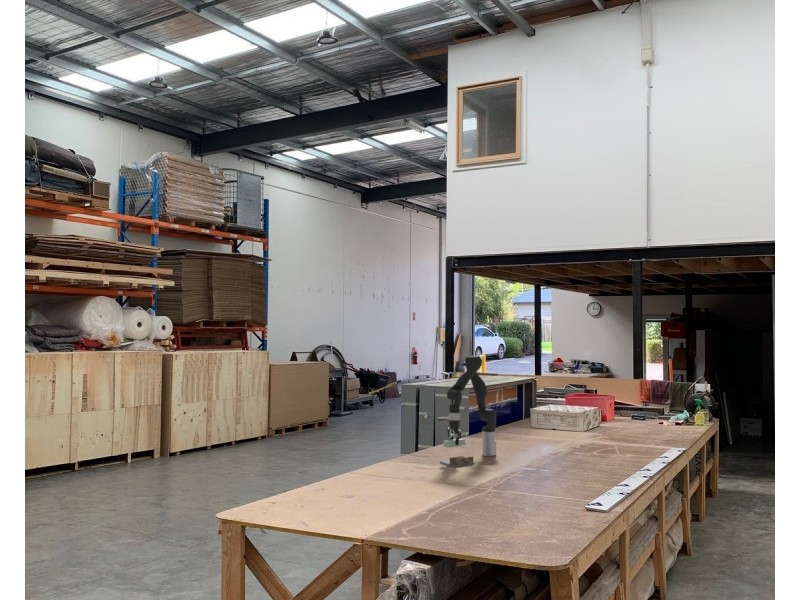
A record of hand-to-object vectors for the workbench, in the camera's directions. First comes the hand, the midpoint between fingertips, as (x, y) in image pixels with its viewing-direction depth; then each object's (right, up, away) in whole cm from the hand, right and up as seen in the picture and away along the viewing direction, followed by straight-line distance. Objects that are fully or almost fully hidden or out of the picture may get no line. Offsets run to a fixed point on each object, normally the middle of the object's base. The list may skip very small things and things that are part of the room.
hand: (454, 444), depth 447 cm
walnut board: (+4, -11, -7) cm, 14 cm away
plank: (0, -1, 0) cm, 1 cm away
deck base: (+2, -12, -3) cm, 13 cm away
